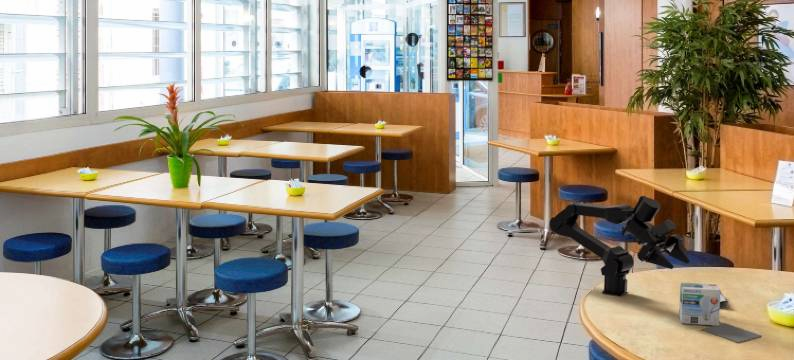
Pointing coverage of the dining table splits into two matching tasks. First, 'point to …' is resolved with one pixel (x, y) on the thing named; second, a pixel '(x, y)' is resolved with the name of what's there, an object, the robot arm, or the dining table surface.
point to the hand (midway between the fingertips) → (681, 265)
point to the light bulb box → (699, 303)
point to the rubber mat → (731, 333)
